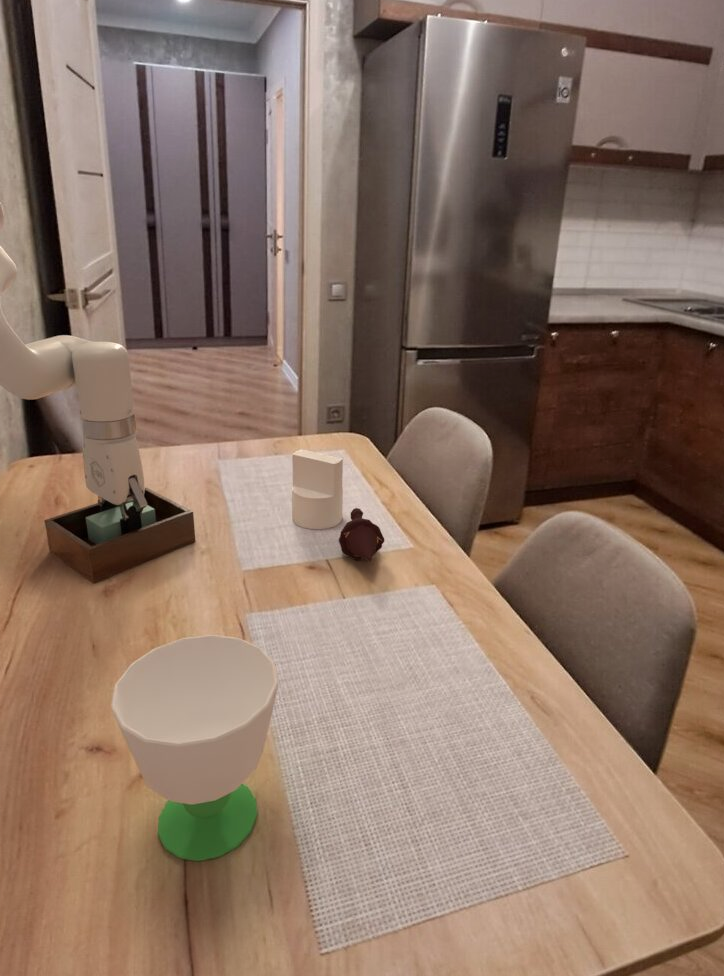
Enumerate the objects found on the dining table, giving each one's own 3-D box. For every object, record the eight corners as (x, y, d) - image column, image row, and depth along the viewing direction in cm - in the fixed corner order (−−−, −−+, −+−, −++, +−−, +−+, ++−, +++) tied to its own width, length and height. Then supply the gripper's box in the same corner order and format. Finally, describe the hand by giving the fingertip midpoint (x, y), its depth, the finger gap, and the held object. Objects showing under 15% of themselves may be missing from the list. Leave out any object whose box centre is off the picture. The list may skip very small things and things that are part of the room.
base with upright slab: (351, 513, 123) (352, 453, 119) (326, 533, 116) (326, 470, 111) (309, 503, 126) (309, 443, 122) (282, 521, 119) (281, 459, 114)
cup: (153, 761, 69) (138, 633, 63) (288, 758, 70) (285, 633, 64) (109, 889, 56) (84, 746, 50) (274, 884, 57) (269, 743, 51)
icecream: (399, 542, 101) (378, 507, 115) (352, 534, 99) (337, 499, 113) (386, 583, 103) (368, 543, 116) (340, 576, 100) (327, 536, 114)
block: (88, 539, 106) (85, 517, 104) (140, 521, 112) (137, 499, 111) (105, 550, 103) (102, 527, 101) (157, 530, 109) (154, 508, 108)
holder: (49, 551, 106) (44, 520, 104) (149, 515, 119) (146, 487, 116) (94, 583, 98) (89, 550, 96) (195, 541, 111) (193, 511, 109)
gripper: (56, 418, 102) (73, 523, 109) (116, 446, 93) (130, 560, 100) (103, 408, 108) (116, 509, 115) (164, 433, 98) (174, 542, 105)
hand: (122, 531), depth 107 cm, fingers closed on block, 5 cm apart
